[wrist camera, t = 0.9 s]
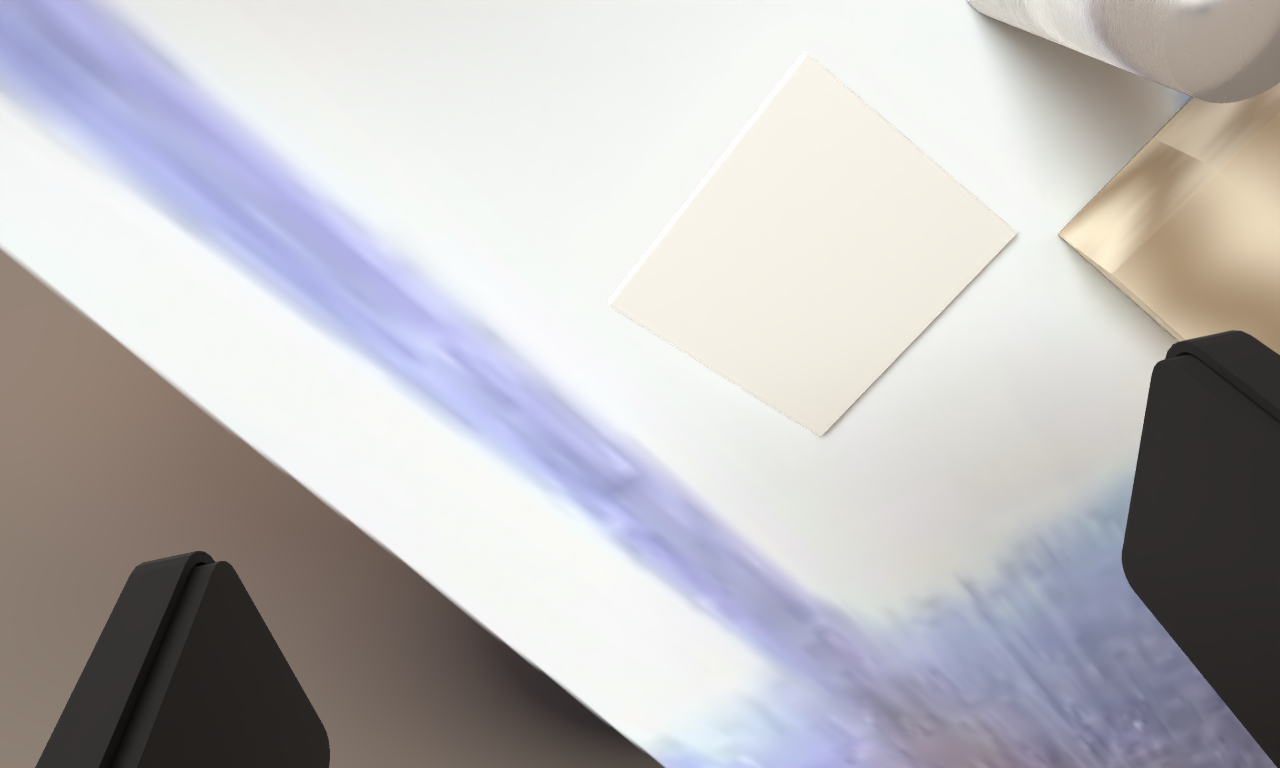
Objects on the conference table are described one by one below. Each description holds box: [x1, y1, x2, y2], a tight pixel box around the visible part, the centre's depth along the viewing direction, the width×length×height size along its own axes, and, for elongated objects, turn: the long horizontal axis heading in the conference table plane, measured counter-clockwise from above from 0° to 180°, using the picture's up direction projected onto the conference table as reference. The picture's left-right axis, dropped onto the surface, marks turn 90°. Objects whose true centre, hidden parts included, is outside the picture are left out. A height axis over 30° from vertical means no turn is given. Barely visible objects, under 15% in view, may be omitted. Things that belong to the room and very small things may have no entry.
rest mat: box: [608, 51, 1017, 437], centre depth 37 cm, size 12×12×1 cm
